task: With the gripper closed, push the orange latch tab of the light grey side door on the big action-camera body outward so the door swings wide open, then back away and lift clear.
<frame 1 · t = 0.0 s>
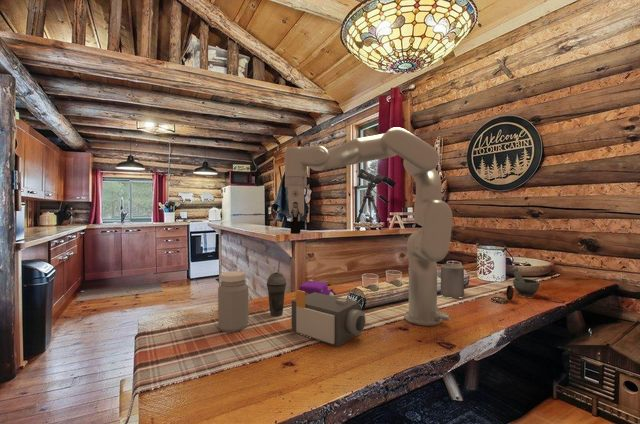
hand: (295, 232, 105), 31 cm above the table, tool pointing down, fingers open, 9 cm apart
door: (314, 315, 90), point 7 cm above the table, hinge at 0.0°
jar: (233, 327, 101), on the table
compass: (501, 303, 127), on the table
grey canister: (452, 296, 136), on the table
mortar and pestle: (524, 296, 136), on the table
camera body: (325, 332, 96), on the table
beverage cup: (276, 315, 112), on the table
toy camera: (317, 307, 121), on the table
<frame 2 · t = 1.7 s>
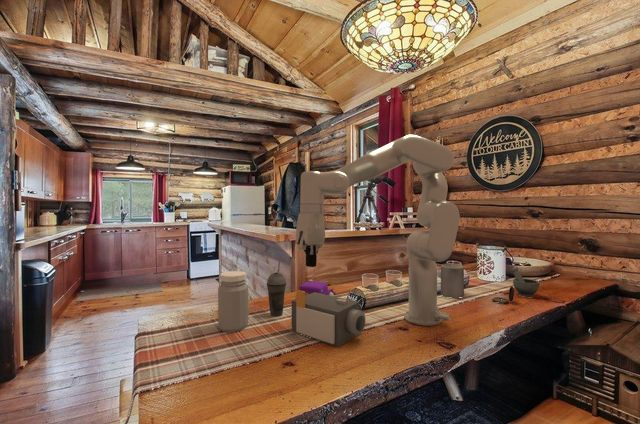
hand: (311, 266, 98), 21 cm above the table, tool pointing down, fingers closed
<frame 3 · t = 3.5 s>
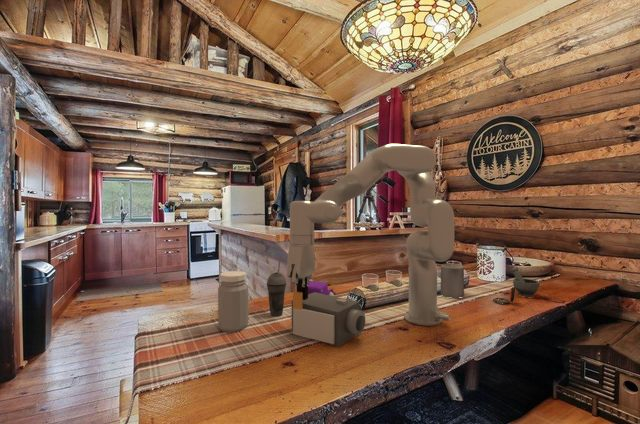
hand: (302, 298, 94), 11 cm above the table, tool pointing down, fingers closed
door: (313, 316, 89), point 7 cm above the table, hinge at 7.2°, touching gripper
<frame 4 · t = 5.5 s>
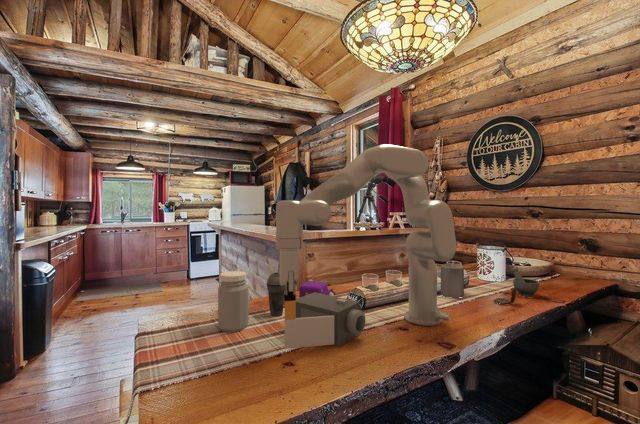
hand: (289, 307, 86), 11 cm above the table, tool pointing down, fingers closed
door: (309, 322, 84), point 7 cm above the table, hinge at 49.0°, touching gripper
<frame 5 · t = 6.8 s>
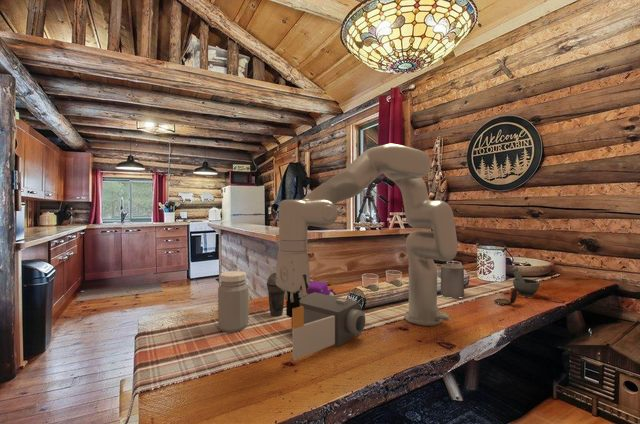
hand: (293, 315, 80), 11 cm above the table, tool pointing down, fingers closed
door: (314, 327, 81), point 8 cm above the table, hinge at 76.9°, touching gripper
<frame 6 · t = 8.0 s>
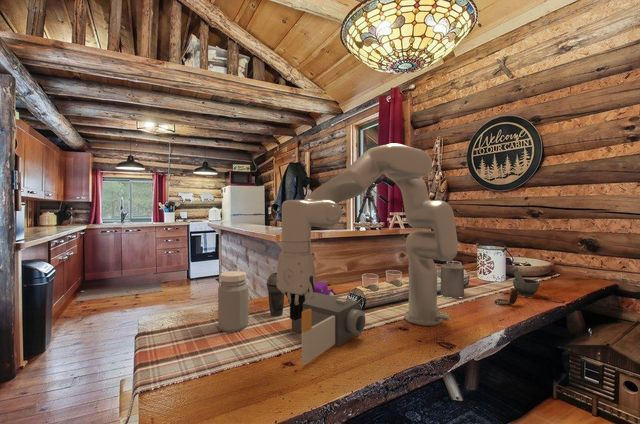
hand: (296, 318, 78), 11 cm above the table, tool pointing down, fingers closed
door: (319, 329, 80), point 8 cm above the table, hinge at 91.4°
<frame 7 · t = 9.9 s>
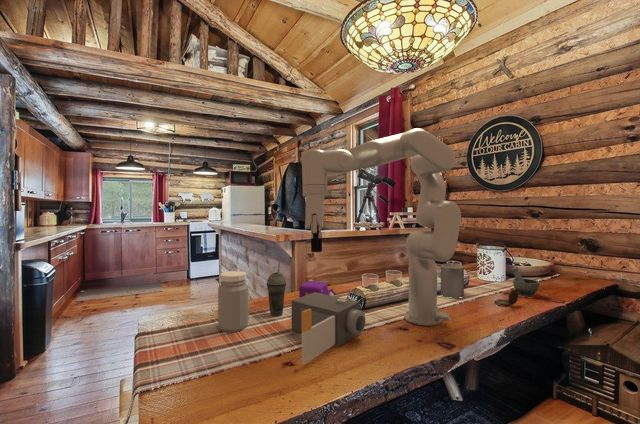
hand: (316, 251, 92), 26 cm above the table, tool pointing down, fingers closed
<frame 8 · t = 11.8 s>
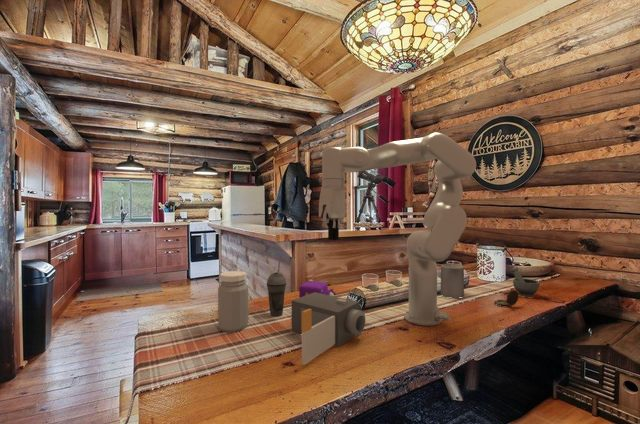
hand: (333, 239, 101), 29 cm above the table, tool pointing down, fingers closed
at the end: door at +91° (first picture: +0°); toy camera moved 0.3 cm from its start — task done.
